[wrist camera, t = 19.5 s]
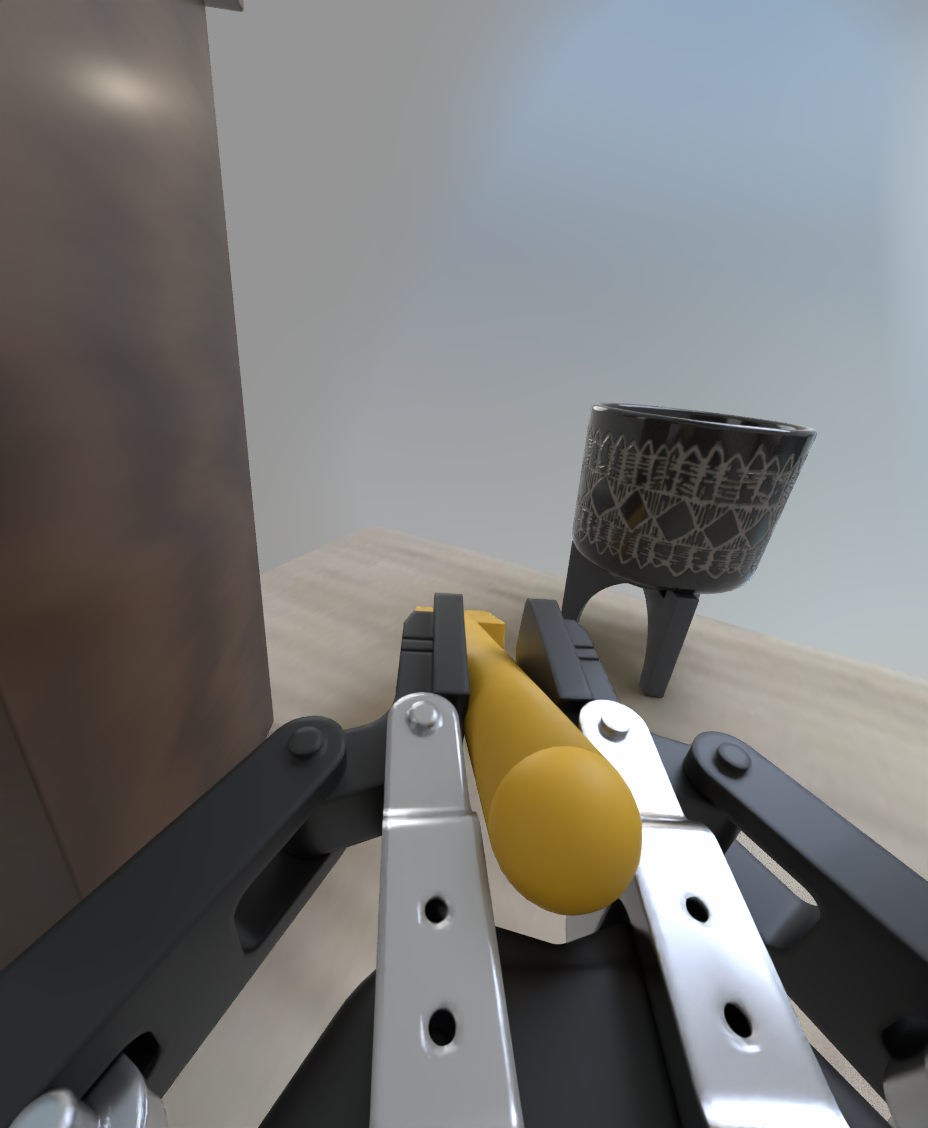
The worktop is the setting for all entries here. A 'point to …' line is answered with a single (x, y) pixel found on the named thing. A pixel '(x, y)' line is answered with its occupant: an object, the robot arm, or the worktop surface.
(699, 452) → the planter
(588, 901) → the hammer
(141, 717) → the stand
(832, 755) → the worktop surface
